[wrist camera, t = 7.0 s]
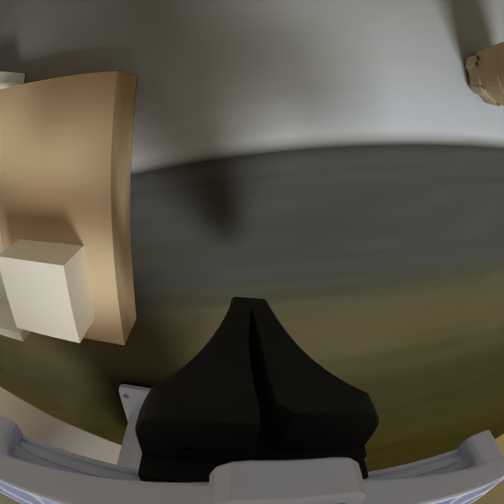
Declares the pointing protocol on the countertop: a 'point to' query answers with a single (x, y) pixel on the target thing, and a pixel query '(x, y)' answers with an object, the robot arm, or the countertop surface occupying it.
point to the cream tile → (48, 288)
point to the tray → (3, 319)
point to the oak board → (74, 181)
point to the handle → (488, 74)
